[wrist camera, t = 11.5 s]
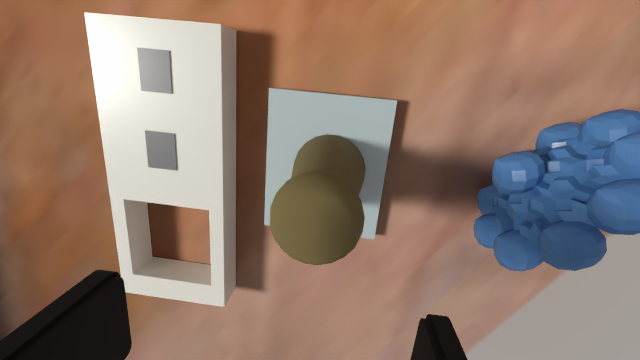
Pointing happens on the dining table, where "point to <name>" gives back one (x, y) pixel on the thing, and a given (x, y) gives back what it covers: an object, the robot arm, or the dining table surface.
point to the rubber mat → (335, 119)
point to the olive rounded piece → (321, 202)
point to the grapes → (564, 194)
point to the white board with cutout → (168, 144)
